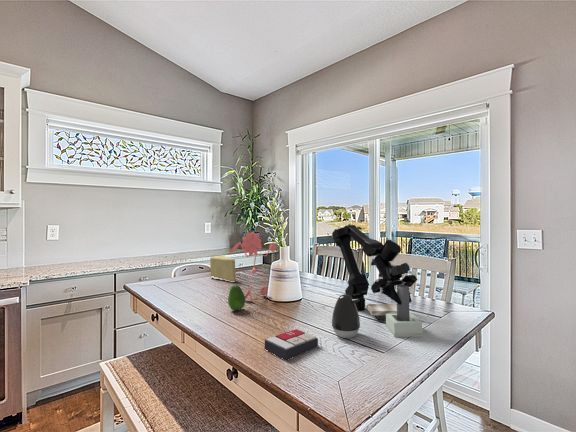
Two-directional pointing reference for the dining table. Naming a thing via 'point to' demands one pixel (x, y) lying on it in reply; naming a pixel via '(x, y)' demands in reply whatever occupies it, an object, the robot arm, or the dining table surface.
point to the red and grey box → (291, 344)
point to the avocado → (236, 298)
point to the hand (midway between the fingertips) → (405, 303)
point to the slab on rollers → (382, 310)
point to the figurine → (251, 246)
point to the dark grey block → (403, 303)
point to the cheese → (223, 267)
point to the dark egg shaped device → (346, 317)
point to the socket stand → (404, 326)
